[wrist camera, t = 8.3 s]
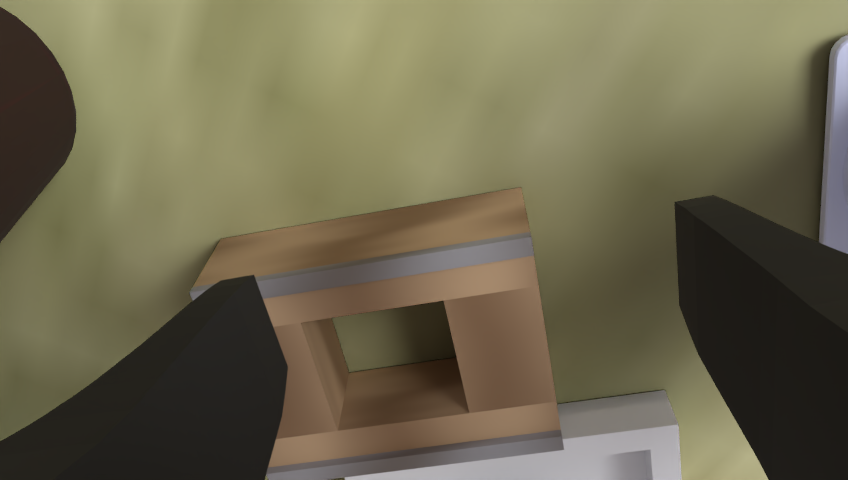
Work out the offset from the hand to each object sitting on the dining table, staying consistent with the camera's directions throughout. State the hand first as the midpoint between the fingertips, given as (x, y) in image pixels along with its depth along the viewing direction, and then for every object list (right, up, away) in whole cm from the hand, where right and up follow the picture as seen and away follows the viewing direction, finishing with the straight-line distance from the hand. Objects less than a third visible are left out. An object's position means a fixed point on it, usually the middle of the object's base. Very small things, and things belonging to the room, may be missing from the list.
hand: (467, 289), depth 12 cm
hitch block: (-2, -2, +13) cm, 13 cm away
